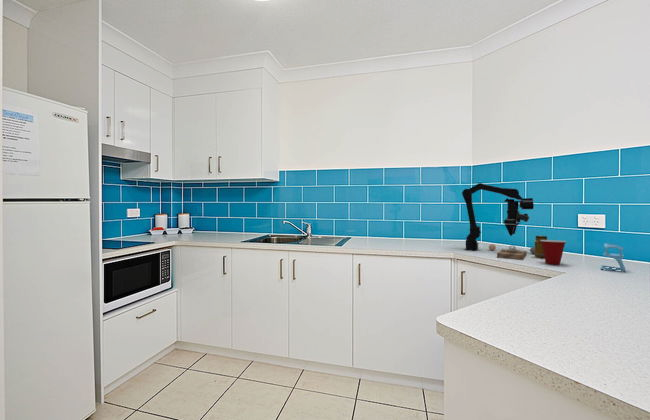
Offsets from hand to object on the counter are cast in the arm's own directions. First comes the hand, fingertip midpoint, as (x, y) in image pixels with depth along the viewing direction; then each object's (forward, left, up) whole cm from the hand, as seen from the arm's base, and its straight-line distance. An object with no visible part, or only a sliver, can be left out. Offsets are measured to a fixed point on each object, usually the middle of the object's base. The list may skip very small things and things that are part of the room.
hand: (512, 234), depth 186 cm
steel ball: (0, 0, -9) cm, 9 cm away
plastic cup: (+21, -26, -11) cm, 35 cm away
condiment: (+16, -11, -11) cm, 22 cm away
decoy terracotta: (-11, 0, -9) cm, 14 cm away
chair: (+43, -27, -11) cm, 52 cm away
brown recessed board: (+2, -16, -11) cm, 19 cm away
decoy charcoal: (+11, 0, -9) cm, 14 cm away
